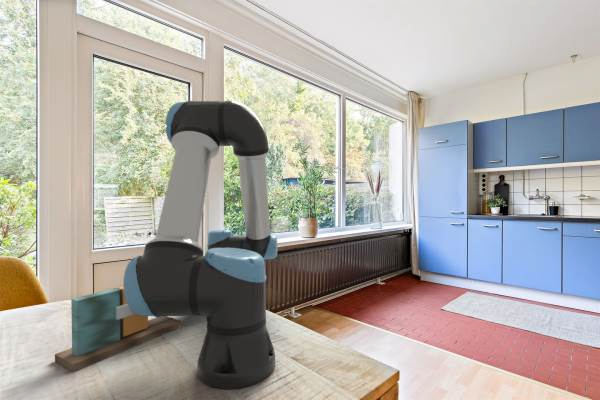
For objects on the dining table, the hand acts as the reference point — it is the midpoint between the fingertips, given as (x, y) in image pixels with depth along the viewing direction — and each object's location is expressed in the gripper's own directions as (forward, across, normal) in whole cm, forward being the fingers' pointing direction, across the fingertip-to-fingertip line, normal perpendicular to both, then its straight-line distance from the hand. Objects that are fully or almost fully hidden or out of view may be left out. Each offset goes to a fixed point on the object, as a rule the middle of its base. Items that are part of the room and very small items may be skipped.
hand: (112, 311), depth 70 cm
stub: (-5, 0, -6) cm, 8 cm away
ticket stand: (-3, 0, -8) cm, 9 cm away
